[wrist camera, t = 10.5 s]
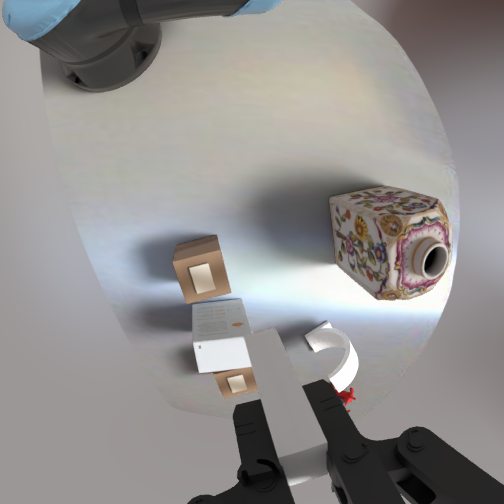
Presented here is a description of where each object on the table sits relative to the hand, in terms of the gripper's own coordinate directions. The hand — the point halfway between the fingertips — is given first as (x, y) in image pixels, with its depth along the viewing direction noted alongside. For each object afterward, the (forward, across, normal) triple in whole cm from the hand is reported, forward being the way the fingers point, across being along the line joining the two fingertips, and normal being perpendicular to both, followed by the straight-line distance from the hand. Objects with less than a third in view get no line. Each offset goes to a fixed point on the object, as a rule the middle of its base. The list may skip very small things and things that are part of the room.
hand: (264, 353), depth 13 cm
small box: (+30, -4, -15) cm, 34 cm away
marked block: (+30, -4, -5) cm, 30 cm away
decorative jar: (+30, +22, -6) cm, 37 cm away
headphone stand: (+30, +13, -25) cm, 41 cm away
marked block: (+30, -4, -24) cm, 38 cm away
